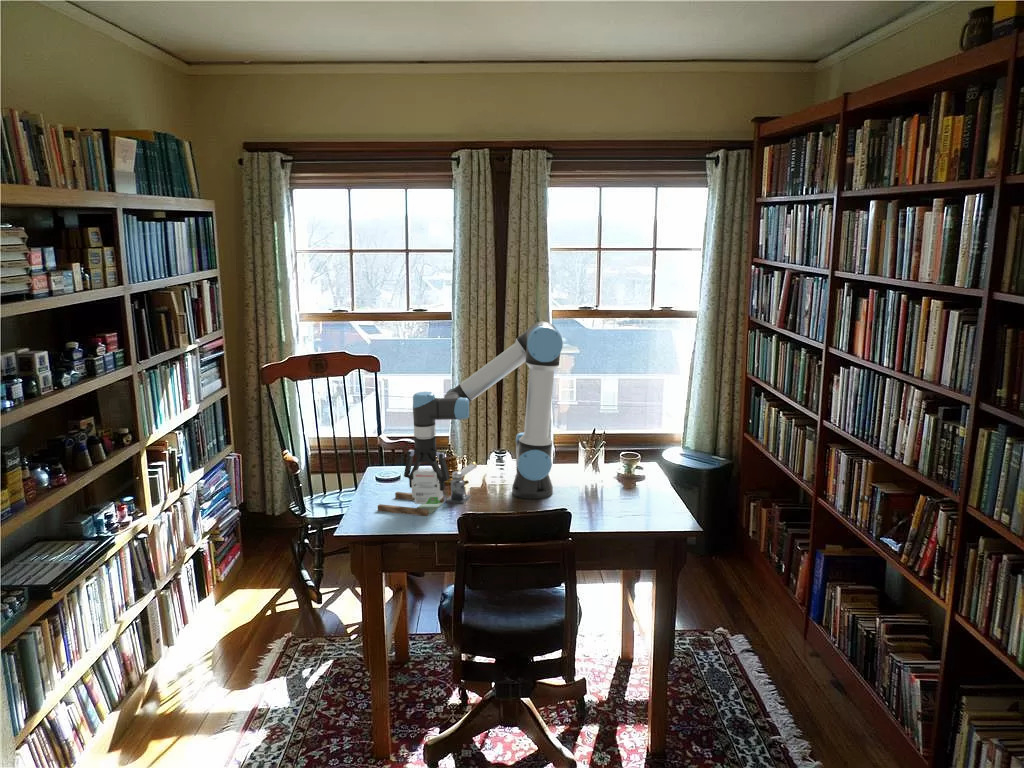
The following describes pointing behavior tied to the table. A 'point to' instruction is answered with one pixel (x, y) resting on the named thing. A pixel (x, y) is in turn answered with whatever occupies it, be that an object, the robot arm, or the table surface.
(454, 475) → the crank
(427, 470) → the ink box
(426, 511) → the rails
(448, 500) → the winch drum
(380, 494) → the table surface
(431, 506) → the front pad
